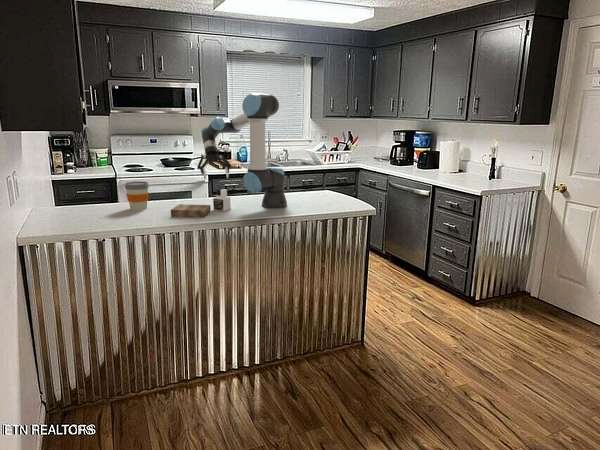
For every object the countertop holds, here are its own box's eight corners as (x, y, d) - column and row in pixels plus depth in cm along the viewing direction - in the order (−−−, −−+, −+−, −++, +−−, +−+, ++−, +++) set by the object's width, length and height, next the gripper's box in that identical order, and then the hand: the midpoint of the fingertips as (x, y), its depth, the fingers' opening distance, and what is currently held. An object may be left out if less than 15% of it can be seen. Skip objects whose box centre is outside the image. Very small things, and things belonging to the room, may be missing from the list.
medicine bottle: (213, 210, 253) (212, 189, 250) (221, 207, 259) (220, 187, 256) (223, 211, 250) (222, 190, 247) (230, 209, 256) (230, 188, 253)
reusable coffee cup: (122, 209, 251) (119, 183, 248) (139, 205, 262) (137, 180, 258) (138, 212, 246) (135, 185, 242) (154, 208, 257) (153, 182, 253)
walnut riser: (210, 212, 248) (210, 205, 247) (204, 217, 235) (204, 210, 234) (179, 211, 249) (178, 204, 248) (171, 217, 235) (170, 209, 234)
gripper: (229, 152, 278) (236, 180, 269) (189, 153, 269) (194, 182, 259) (231, 145, 272) (238, 172, 262) (190, 145, 263) (195, 174, 253)
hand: (216, 177), depth 261 cm, fingers open, 13 cm apart
